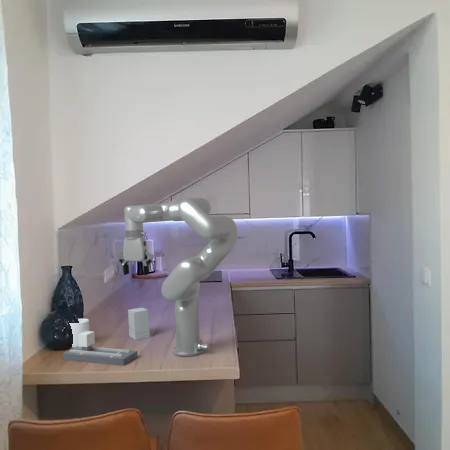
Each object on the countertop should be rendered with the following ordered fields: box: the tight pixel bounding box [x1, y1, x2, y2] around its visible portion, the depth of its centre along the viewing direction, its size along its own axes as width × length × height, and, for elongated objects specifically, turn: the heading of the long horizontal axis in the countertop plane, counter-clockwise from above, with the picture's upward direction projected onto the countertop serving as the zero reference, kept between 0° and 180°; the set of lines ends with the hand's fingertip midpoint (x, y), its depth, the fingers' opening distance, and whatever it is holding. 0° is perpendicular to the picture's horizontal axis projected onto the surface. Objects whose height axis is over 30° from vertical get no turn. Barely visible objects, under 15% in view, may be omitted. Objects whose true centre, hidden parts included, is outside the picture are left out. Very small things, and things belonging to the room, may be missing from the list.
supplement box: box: [127, 307, 151, 341], centre depth 216 cm, size 7×7×13 cm
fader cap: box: [78, 330, 96, 351], centre depth 190 cm, size 4×5×7 cm
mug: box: [69, 318, 90, 349], centre depth 206 cm, size 9×12×11 cm
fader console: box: [62, 346, 138, 366], centre depth 188 cm, size 28×10×3 cm, turn 69°
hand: (136, 274), depth 203 cm, fingers open, 9 cm apart
